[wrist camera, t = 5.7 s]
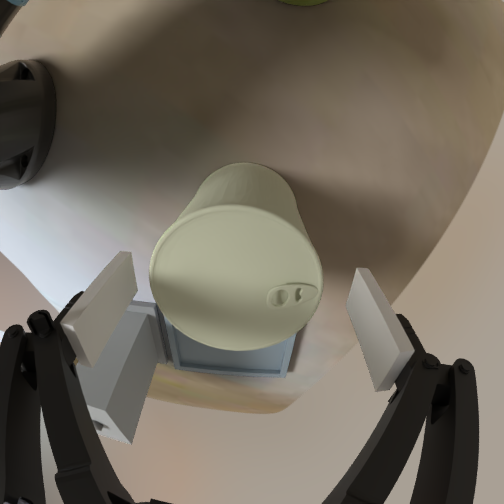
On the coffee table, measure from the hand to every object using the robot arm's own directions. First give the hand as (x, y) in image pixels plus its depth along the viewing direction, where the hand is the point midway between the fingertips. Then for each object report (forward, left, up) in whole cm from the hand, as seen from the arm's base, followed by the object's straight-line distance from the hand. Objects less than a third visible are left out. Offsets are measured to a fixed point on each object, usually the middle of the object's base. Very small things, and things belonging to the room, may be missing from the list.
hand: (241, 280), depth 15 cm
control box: (+16, -13, -10) cm, 23 cm away
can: (0, 0, -10) cm, 10 cm away
